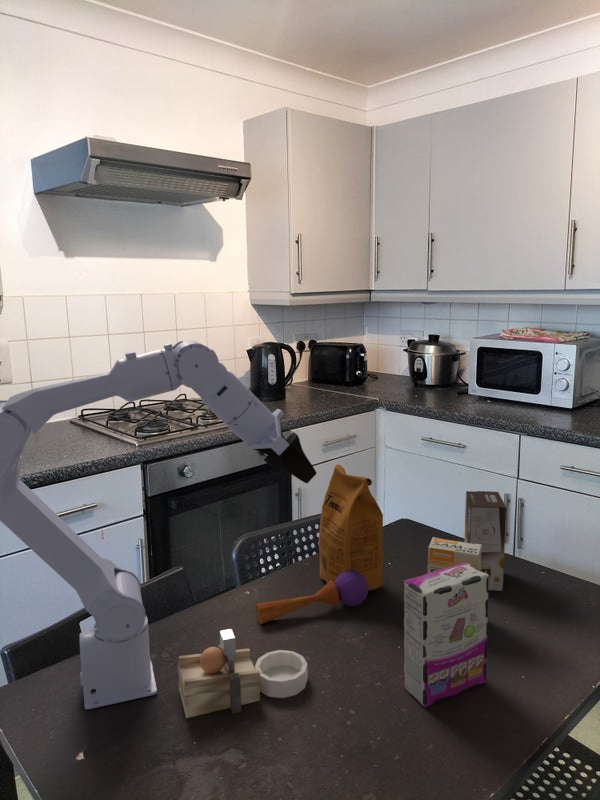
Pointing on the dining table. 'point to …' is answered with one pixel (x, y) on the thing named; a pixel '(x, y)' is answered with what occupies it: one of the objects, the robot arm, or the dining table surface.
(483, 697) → the dining table surface
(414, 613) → the candy bar box
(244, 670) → the wooden box
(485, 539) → the coffee box
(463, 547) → the supplement box
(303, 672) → the white round shallow bowl
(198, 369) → the robot arm
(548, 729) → the dining table surface
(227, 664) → the gate
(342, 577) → the kendama
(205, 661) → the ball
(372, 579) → the coffee package
